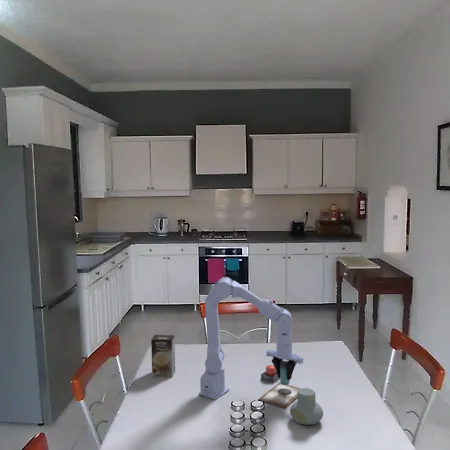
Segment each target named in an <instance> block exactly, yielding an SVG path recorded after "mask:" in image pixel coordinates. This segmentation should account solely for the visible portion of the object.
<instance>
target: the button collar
mask: <svg viewBox="0 0 450 450" xmlns="http://www.w3.org/2000/svg"><path fill="white" fill-rule="evenodd" d="M260 380H263V381H267V382H270V383H275V382H277V381H278V380H280V378H278V375H277V372H276V375H275V376H274V377H272V376H269V375H266V370H265V371H264V372H262V373H261V374H260Z"/></svg>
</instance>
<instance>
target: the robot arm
mask: <svg viewBox="0 0 450 450" xmlns="http://www.w3.org/2000/svg"><path fill="white" fill-rule="evenodd" d="M230 296H231V297H230ZM229 297H230V298H232V299H233V298H241V299H242V300H245V301H246V302H247V303H249V304H251V305H253V306H255V307H256V308H257V310H258V311H257V312H259V314H261V315H263V316H264V317H266V318H267V319H269V320H270V321H272V322H275V324H276V326H277V327H276V350H274V349H273V350H272V349H267V350H266V351H265V353H266V356H265V357H271V358H272V359H271V363H272V364H273V366H275V369H276V372H277V375H278V378H279V379H280V361H288V362H286V363H285V365H286V368H287V380H289V381H290V380H291V379H292V376H293V373H294V370H295V368H296V365H297V363H298V364H299V365H302V364H303V363H304V357H302V356H300V355H298V354H294V353H293V332H292V331H293V330H292V325H293V318H292V313H291V312H290V311H289V310H288V309H287V308H286V309H285V308H284V307H280V306H279V305H277V304H276V303H274V300H272V299H266V298H265V299H261V298H260V297H258V296H257V295H256V294H254V293H253V292H252V291H250V290H248V289H247V288H246V287H245V286H243V285H241V284H240V283H239V282H238V281H236V280H233V279H232V278H230V277H228V276H223V277H221V278H219V279H218V280H217V281H216V282H214V285H213V286H212V287H211V289H210V291H209V292H208V294H207V296H206V297H205V299H204V308H205V323H206V324H205V325H206V342H207V343H206V344H207V347H206V348H207V350H206V358H205V361H204V362H205V363H204V367H205V370H204V373H203V374H202V375H201V377H200V381H199V382H200V384H199V385H200V392H198V394H199V395H201V396H204V397H206V398H209V399H212V400H216V399H218V398H219V397H221V396H222V395H224V394H225V393H227V392H228V391H230V388H229V387H225V386H226V385H225V383H226V382H225V381H226V379H225V378H226V377H225V366H224V364H223V361H224V359H225V353H224V351H223V350H222V344H221V338H220V336H221V334H220V320H219V319H220V318H219V308H218V307H219V304H220V303H221V302H222V301H223V300H226V299H228V298H229Z"/></svg>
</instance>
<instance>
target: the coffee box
mask: <svg viewBox="0 0 450 450" xmlns="http://www.w3.org/2000/svg"><path fill="white" fill-rule="evenodd" d="M175 336H176V335H174V334H172V335H171V334H170V335H169V334H154V335H153V336H152V338H151V340H150V344H151V346H150V347H151V377H155V378H156V377H160V378H161V377H162V378H173V377H174V375H175V373H176V337H175Z"/></svg>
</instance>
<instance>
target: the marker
mask: <svg viewBox="0 0 450 450" xmlns="http://www.w3.org/2000/svg"><path fill="white" fill-rule="evenodd" d="M286 362H288V360H283V361H280V378H279V383H280V384H282V385H290V380H287V368H286V365H285V363H286Z"/></svg>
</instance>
